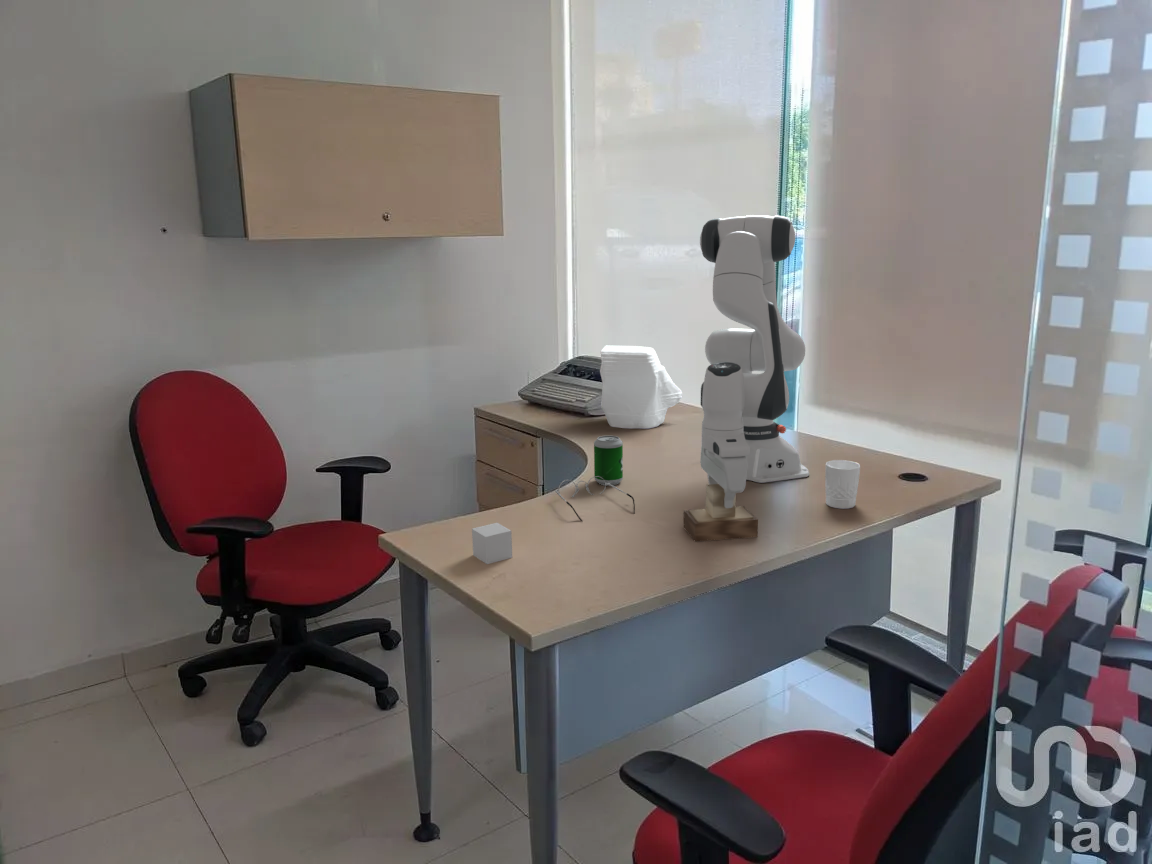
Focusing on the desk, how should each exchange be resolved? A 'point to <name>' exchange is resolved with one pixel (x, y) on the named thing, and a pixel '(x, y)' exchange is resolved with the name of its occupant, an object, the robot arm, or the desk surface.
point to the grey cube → (492, 543)
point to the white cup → (841, 483)
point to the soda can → (608, 460)
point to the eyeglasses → (589, 493)
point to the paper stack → (635, 387)
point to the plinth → (720, 525)
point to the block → (717, 502)
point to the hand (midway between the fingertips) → (720, 500)
